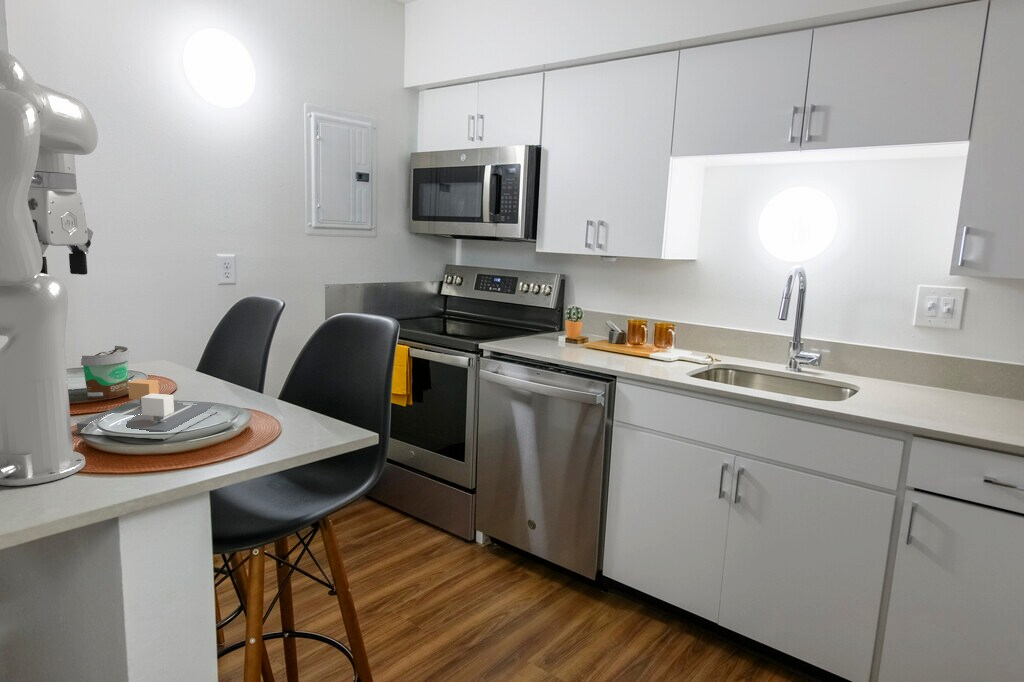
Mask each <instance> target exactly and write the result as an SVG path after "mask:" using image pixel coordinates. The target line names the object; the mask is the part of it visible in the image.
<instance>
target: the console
mask: <svg viewBox="0 0 1024 682" xmlns="http://www.w3.org/2000/svg"><path fill="white" fill-rule="evenodd" d="M173 400H174V412H173V413H171V414H169V415H167V416H165V417H164V419H162V420H160V421H158V420H154V418H153V416H150V415H141V414H142V404H140V400H139V399H133V400H132V401H128V402H126V403H124V404H121V405H118V406H116V407H114V408H111V409H108V410H106V411H104V412H102V413H99V414H97V415H93V416H91V417H89V418H86V419H84V420H82V421H79V422H76V429H77V430H76V431H77V435H78V434H79V435H81V434H80V432H81V430H82V429H83V428H84V427H86V426H87V425H88V424H89V423H90V422H92V421H94V420H96V419H99V418H101V417H103V416H105V415H107V414H111V413H121V414H120V415H134V416H135V415H136V416H135V417H133V418H132V419H131V420H129V421H127V424H126V427H127V428H131V429H139V430H146V431H149V432H167V431H170V430H172V429H174V428H176V427H178V426H179V425H182V424H183V423H185V422H187V421H189V420H190V419H192V418H194V417H196V416H198V415H200V414H202V413H204V412H206V411H207V410H208V409H210V408H211V407H212V406H214V405H216V404H217V405H218V403H215V402H206V401H205V402H203V401H198V402H199V403H193V404H197V405H192V406H189V405H183V403H177V402H185V401H186V402H193V401H191V400H178V399H177V400H175V399H173ZM138 414H140V415H138Z"/></svg>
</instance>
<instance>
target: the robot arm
mask: <svg viewBox="0 0 1024 682" xmlns="http://www.w3.org/2000/svg"><path fill="white" fill-rule="evenodd" d="M98 142H99V135H98V128H97V125H96V123H95V120H94V117H93V116H92V114H91V111H90V110H89V108H88V107H87V106H86V105H85V104H84V103H83V102H82V101H80V100H79V99H76V98H75V97H72V96H70V95H68V94H65V93H63V92H61V91H57V90H55V89H52V88H49V87H48V86H45V85H43V84H39V83H37V82H36V81H35V80H34V79H33V77H32V76H31V74H30V73H29V72H28V70H27V69H26V68H25V67H24V65H23V64H22V63H21V61H20V60H18V59H17V58H16V56H14V55H13V54H11V53H10V52H8V51H6V50H4V49H1V48H0V336H1V337H7V338H8V339H7V341H6V343H5V344H4V345H3V346H2V347H1V348H0V486H8V487H12V486H13V487H16V486H17V487H22V486H29V485H39V484H44V483H48V482H53V481H56V480H60V479H63V478H66V477H69V476H71V475H73V474H76V473H77V472H79V471H81V470H82V469H83V468H84V467H85V465H86V456H84V454H83V453H80V452H78V451H74V448H73V447H74V446H73V435H72V422H71V411H70V409H71V408H70V397H69V386H68V384H69V383H68V373H67V362H66V357H67V356H66V329H67V328H66V325H67V316H68V308H69V306H68V305H69V296H68V291H67V287H65V285H64V283H63V282H62V281H61V280H60V279H58V278H57V277H56V276H53V275H51V274H49V272H48V262H47V256H43V255H44V254H45V253H46V250H47V249H48V247H49V246H53V247H63V246H66V247H67V248H68V249H69V250H70V253H68V260H69V272H70V274H71V275H81V276H82V275H83V276H84V275H87V274H88V260H87V254H89V248H90V246H91V244H92V242H91V241H92V239H93V234H94V231H93V230H92V229H90V228H89V227H88V226H87V225H88V224H87V217H86V212H85V207H84V202H83V199H82V197H81V193H80V192H78V189H77V188H78V187H77V184H78V183H77V175H76V173H77V172H76V161H75V160H76V159H75V155H77V156H85V155H86V156H87V155H90V154H92V153H93V152H94V151H95V150H96V148H97V145H98Z"/></svg>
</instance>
